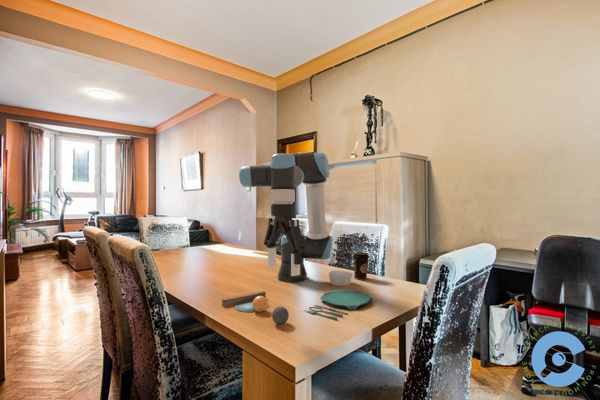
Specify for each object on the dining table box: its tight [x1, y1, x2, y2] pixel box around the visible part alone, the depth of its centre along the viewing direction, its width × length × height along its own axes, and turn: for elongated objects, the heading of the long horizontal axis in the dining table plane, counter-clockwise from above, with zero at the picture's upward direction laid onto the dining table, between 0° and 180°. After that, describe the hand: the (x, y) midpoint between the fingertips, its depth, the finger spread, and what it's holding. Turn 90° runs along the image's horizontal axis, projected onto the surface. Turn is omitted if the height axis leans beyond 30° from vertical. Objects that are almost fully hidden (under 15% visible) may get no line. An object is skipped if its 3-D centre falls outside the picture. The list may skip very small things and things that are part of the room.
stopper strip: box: [221, 290, 267, 308], centre depth 123 cm, size 2×18×2 cm, turn 125°
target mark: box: [234, 300, 270, 313], centre depth 118 cm, size 13×13×1 cm
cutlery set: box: [303, 289, 374, 321], centre depth 119 cm, size 20×30×2 cm, turn 140°
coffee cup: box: [352, 252, 370, 281], centre depth 159 cm, size 9×8×13 cm
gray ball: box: [271, 305, 290, 325], centre depth 101 cm, size 6×6×6 cm
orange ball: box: [253, 296, 269, 313], centre depth 112 cm, size 6×6×6 cm
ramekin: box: [328, 270, 353, 287], centre depth 149 cm, size 11×11×5 cm
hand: (283, 271), depth 96 cm, fingers open, 13 cm apart
